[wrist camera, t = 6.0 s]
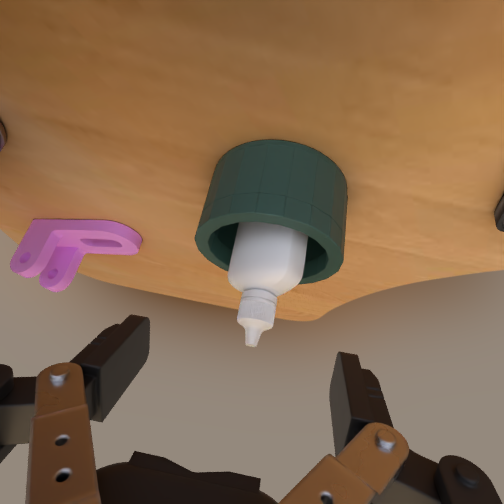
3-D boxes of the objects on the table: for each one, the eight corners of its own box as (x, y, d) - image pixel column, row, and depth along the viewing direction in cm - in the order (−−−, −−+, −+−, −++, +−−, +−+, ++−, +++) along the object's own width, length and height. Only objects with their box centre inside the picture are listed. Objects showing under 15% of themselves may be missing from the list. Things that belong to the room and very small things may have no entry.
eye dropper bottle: (313, 212, 28) (296, 359, 23) (248, 208, 29) (218, 347, 24) (313, 177, 24) (292, 343, 19) (238, 175, 26) (199, 330, 20)
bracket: (66, 242, 45) (42, 290, 42) (33, 219, 40) (4, 271, 37) (150, 245, 41) (131, 299, 38) (124, 220, 37) (100, 279, 33)
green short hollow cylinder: (221, 216, 32) (206, 273, 30) (205, 130, 23) (181, 202, 20) (332, 232, 31) (327, 292, 29) (364, 149, 22) (361, 227, 19)
